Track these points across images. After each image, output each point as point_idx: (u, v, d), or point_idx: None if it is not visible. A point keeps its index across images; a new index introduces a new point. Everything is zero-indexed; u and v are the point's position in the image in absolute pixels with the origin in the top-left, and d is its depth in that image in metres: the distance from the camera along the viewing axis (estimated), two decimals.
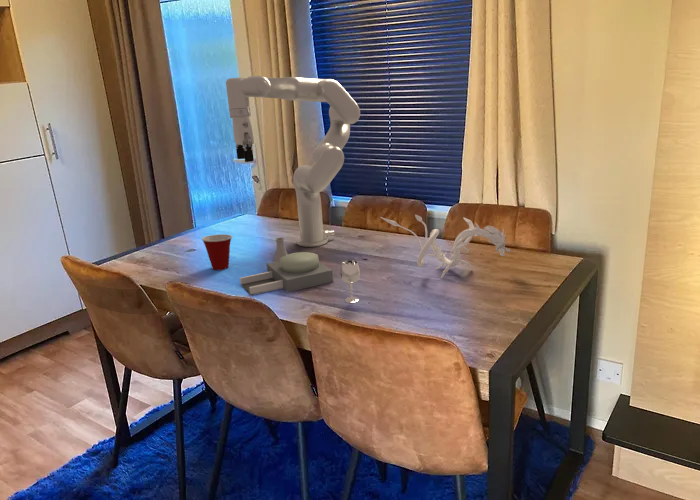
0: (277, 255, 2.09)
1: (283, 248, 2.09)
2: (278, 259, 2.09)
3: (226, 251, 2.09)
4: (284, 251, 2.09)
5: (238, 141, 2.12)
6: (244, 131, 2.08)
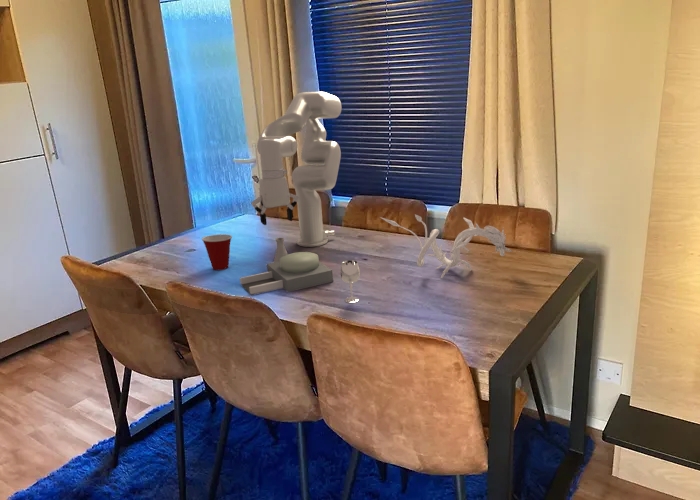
0: (277, 255, 2.09)
1: (283, 248, 2.09)
2: (278, 259, 2.09)
3: (226, 251, 2.09)
4: (284, 251, 2.09)
5: (280, 202, 2.03)
6: None
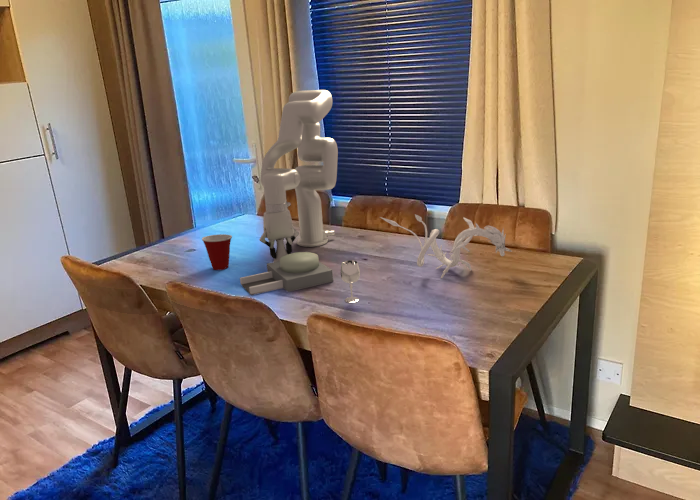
0: (277, 255, 2.09)
1: (283, 248, 2.09)
2: (278, 258, 2.09)
3: (226, 251, 2.09)
4: (284, 251, 2.09)
5: (284, 235, 2.07)
6: None
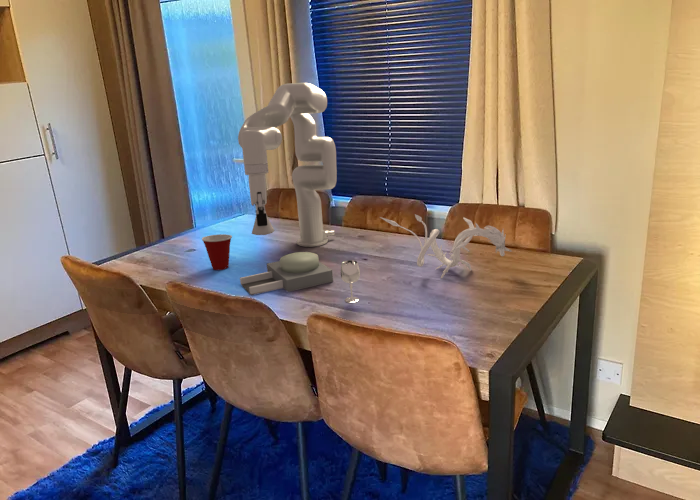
0: None
1: None
2: (267, 224, 1.90)
3: (226, 251, 2.09)
4: None
5: None
6: None
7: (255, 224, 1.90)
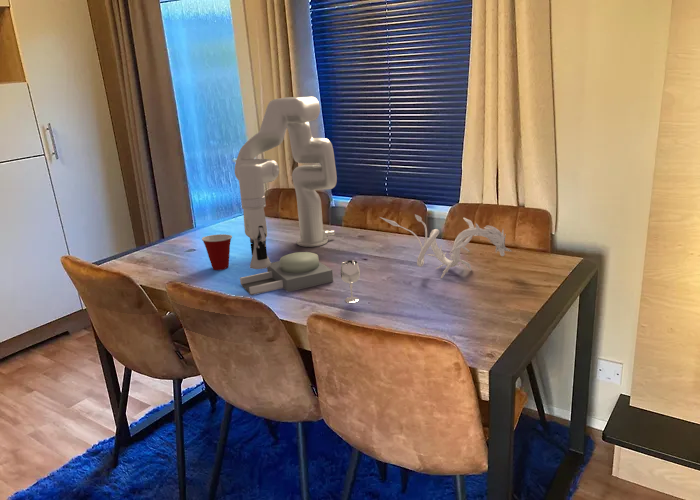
0: None
1: None
2: None
3: (226, 251, 2.09)
4: None
5: None
6: None
7: (253, 258, 1.87)
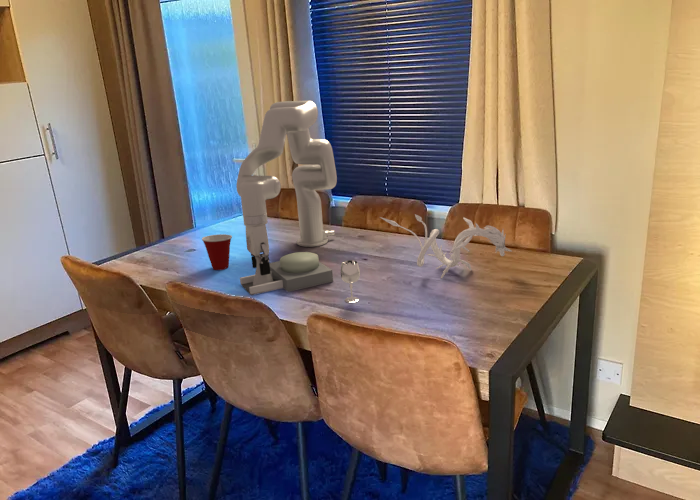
0: None
1: None
2: (268, 276, 1.90)
3: (226, 251, 2.09)
4: None
5: None
6: None
7: (256, 277, 1.89)
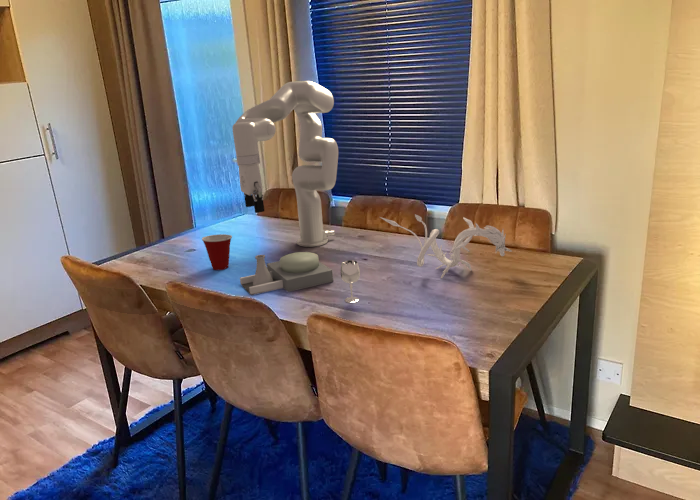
0: (266, 273, 1.90)
1: None
2: (268, 276, 1.90)
3: (226, 251, 2.09)
4: None
5: None
6: None
7: (256, 277, 1.89)
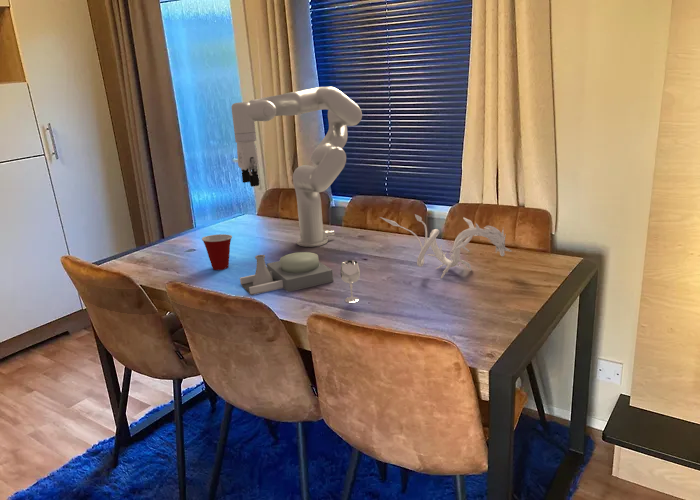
0: (266, 273, 1.90)
1: None
2: (268, 276, 1.90)
3: (226, 251, 2.09)
4: None
5: None
6: None
7: (256, 277, 1.89)
